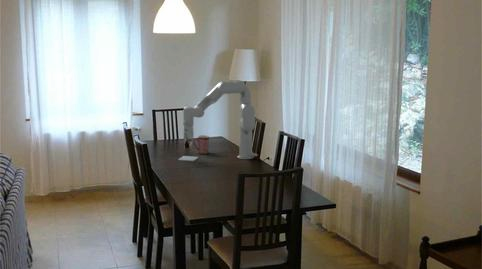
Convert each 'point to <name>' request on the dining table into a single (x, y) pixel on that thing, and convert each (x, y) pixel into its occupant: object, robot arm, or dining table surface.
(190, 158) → the pad
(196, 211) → the dining table surface
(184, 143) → the maple block
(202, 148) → the mug
